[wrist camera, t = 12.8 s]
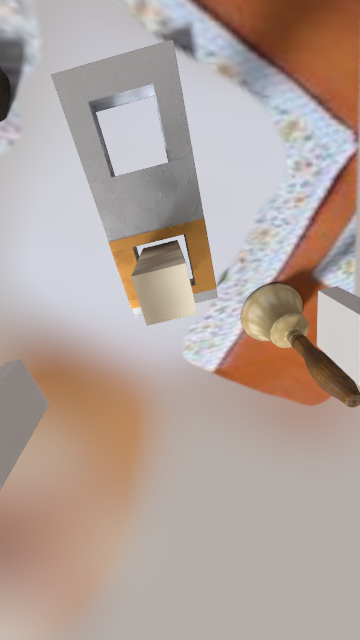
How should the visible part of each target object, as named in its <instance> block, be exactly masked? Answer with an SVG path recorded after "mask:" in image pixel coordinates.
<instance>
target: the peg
mask: <svg viewBox="0 0 360 640" xmlns="http://www.w3.org/2000/svg"><path fill="white" fill-rule="evenodd" d="M131 279H132V282H133V285H134V288H135V291H136V294H137V297H138V300H139V303H140V306H141V309H142V312H143V315H144V318H145V321H146V324H147V326H148V325H152V324H156V323H160V322H164V321H169V320H173V319H177V318H181V317H186V316H190V315H194V314H197V310H196V306H195V301H194V297H193V292H192V288H191V283H190V279H189V274H188V270H187V265H186V262H185V259H184V256H183V254H182V251H181V249H180V246H179V243H178V241H177V240H176V241H171V242H168V243H164V244H160V245H156V246H152V247H148V248H144V249H143V251H142V253H141V255H140V257H139V259H138V262H137V264H136V266H135V268H134V271H133V273H132V275H131Z"/></svg>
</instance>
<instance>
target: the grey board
mask: <svg viewBox="0 0 360 640" xmlns="http://www.w3.org/2000/svg"><path fill="white" fill-rule="evenodd" d="M51 76H52V79H53V82H54V85H55V88H56V90H57V93H58V96H59V99H60V102H61V105H62V108H63V111H64V114H65V116H66V119H67V122H68V125H69V128H70V131H71V134H72V137H73V140H74V142H75V145H76V148H77V151H78V154H79V157H80V160H81V163H82V166H83V168H84V171H85V174H86V177H87V180H88V183H89V186H90V189H91V192H92V194H93V197H94V200H95V203H96V206H97V209H98V212H99V214H100V217H101V220H102V223H103V226H104V229H105V232H106V235H107V238H108V241H109V245H110V248H111V251H112V254H113V256H114V259H115V262H116V265H117V268H118V271H119V274H120V277H121V279H122V282H123V285H124V288H125V291H126V293H127V297H128V300H129V302H130V305H131V308H132V310H133V313H134V316H135V317H139V316H143V312H142V309H141V306H140V303H139V300H138V297H137V294H136V291H135V288H134V285H133V282H132V279H131V275H132V273H133V271H134V268H135V266H136V264H137V262H138V259H139V254H138V251H137V248H136V246H139V245H143V244H147V243H151V242H155V241H159V240H163V239H167V238H171V237H175V236H179V235H183V234H184V237H185V242H186V247H187V251H188V256H189V261H190V265H191V270H192V275H193V279H190V283H191V288H192V292H193V297H194V301H195V303H198V302H202V301H206V300H210V299H214V298H218V296H217V290H216V283H215V277H214V271H213V266H212V260H211V254H210V248H209V243H208V237H207V231H206V225H205V220H204V215H203V210H202V204H201V198H200V192H199V187H198V181H197V175H196V169H195V163H194V158H193V152H192V147H191V140H190V135H189V129H188V124H187V117H186V112H185V106H184V101H183V94H182V89H181V84H180V78H179V71H178V66H177V60H176V54H175V48H174V43H173V40H169V41H166V42H162V43H159V44H156V45H152V46H149V47H145V48H142V49H138V50H135V51H131V52H128V53H124V54H121V55H117V56H114V57H110V58H107V59H103V60H100V61H96V62H93V63H89V64H86V65H83V66H79V67H75V68H72V69H69V70H65V71H62V72H58V73H55V74H52V75H51ZM152 96H154V97H155V101H156V106H157V110H158V115H159V120H160V125H161V129H162V134H163V138H164V143H165V148H166V153H167V158H168V162H169V163H165V164H161V165H158V166H154V167H150V168H146V169H143V170H139V171H135V172H131V173H127V174H124V175H120V176H116V177H115V175H114V171H113V168H112V165H111V162H110V158H109V155H108V151H107V148H106V145H105V142H104V138H103V135H102V132H101V128H100V125H99V122H98V118H97V115H96V112H98V111H101V110H105V109H109V108H112V107H115V106H119V105H123V104H127V103H130V102H134V101H137V100H141V99H145V98H148V97H152Z"/></svg>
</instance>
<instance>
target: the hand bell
mask: <svg viewBox="0 0 360 640" xmlns="http://www.w3.org/2000/svg"><path fill="white" fill-rule="evenodd" d="M302 312H303V304H302V299H301V297H300V295H299V293H298V292H297V291H296V290H295V289H294V288H292V287H291V286H289V285H286V284H281V283H275V284H269V285H266V286H263V287H261V288H259V289H258V290H256V291H255V292H254V293H252V294H251V295H250V297H249V298H248V299H247V300H246V302H245V304H244V306H243V308H242V311H241V323H242V326H243V328H244V330H245V331H246V333H247V334H248V335H250V336H251V337H253V338H255V339H258V340H262V341H272V342H273V343H274V344H275V345H277V346H279V347H283V348H289V347H293V348H295V349H296V351H297V352H298V353H299V354H300V355H301V356H302V357H303V358H304V360H305V362H306V366H307V368H308V370H309V372H310V374H311V376H312V377H313V378H314V380H315V381H316V382H317V384H318V385H319V386H320V387H321V388H322V389H323V390H325V391H326V392H327V393H329V394H330V395H332V396H333V397H335V398H337V399H339V400H340V401H342V402H343V403H345V404H346V405H347V406H348V407H356V406H358V405H360V392H359V390H358V388H357V386H356V384H355V382H354V380H353V379H352V378H350V377H349V376H348V375H347V374H346V373H345V372H344V371H343V370H342V369H341V368H340V367H339V366H338V365H337V364H336V363H335V362H334V361H333V360H332V359H331V358H330V357H328V356H327V355H326V354H325V353H324V352H322V351H320V350H318V349H317V348H316V347H314V345H313V344H312V343H311V342H310V341H309V340H308V339H307V338H306V335H307V333H308V322H307V320H306V319H305V317H304V316H303V315H302Z"/></svg>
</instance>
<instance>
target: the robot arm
mask: <svg viewBox="0 0 360 640" xmlns="http://www.w3.org/2000/svg"><path fill="white" fill-rule="evenodd" d="M317 346H318V347H319V348H320V349H321V350H322V351H323V352H324V353H325V354H326V355H327V356H328V357H330V358H331V359H332V360H333V361H334V362H335V363H336V364H337V365H338V366H339V367H340V368H341V369H342V370H343V371H344V372H345V373H346V374H347V375H348V376H349V377H350V378H352V379H353V380H354V381H355V382H356V383H357V384H358V385H359V386H360V298H359V297H357V296H355V295H353V294H351V293H349V292H347V291H345V290H343V289H341V288H339V287H337V286H336V287H332V288H327V289H323V290H319V291H318V321H317ZM48 406H49V403H48V401H47V399H46V398H45V396H44V395H43V393H42V391H41V390H40V388H39V387H38V385H37V384H36V382H35V380H34V379H33V377H32V376H31V374H30V373H29V371H28V369H27V368H26V366H25V365H24V363H23V362H22V360H21V359H19V360H15V361H11V362H6V363H4V364H3V365H2V366H1V367H0V489H1V488H2V486H3V484H4V482H5V481H6V479H7V477H8V476H9V474H10V472H11V470H12V469H13V467H14V465H15V463H16V461H17V460H18V458H19V456H20V454H21V453H22V451H23V449H24V448H25V446H26V444H27V442H28V441H29V439H30V437H31V435H32V433H33V432H34V430H35V428H36V427H37V425H38V423H39V421H40V419H41V418H42V416H43V414H44V413H45V411H46V409H47V408H48Z"/></svg>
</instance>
